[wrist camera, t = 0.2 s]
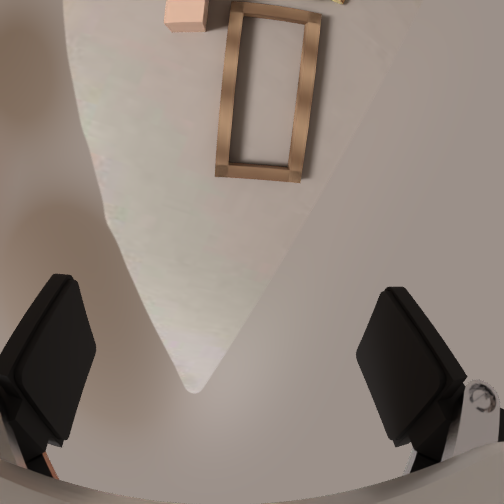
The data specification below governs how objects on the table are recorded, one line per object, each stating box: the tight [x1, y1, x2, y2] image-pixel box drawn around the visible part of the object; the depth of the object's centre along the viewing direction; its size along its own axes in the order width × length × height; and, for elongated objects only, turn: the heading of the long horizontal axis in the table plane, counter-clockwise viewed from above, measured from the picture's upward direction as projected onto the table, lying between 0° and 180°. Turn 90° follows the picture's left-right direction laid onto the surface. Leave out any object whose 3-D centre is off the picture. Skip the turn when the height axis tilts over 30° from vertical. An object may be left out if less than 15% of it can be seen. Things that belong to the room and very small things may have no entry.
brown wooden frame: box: [215, 1, 322, 183], centre depth 32 cm, size 22×10×2 cm, turn 174°
